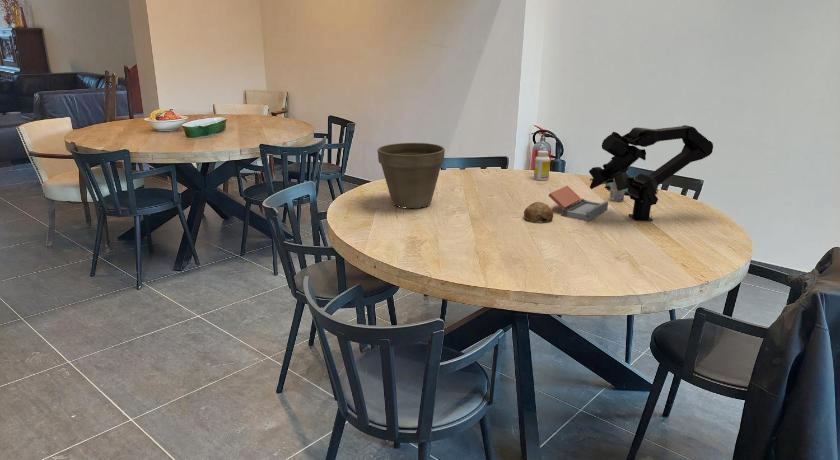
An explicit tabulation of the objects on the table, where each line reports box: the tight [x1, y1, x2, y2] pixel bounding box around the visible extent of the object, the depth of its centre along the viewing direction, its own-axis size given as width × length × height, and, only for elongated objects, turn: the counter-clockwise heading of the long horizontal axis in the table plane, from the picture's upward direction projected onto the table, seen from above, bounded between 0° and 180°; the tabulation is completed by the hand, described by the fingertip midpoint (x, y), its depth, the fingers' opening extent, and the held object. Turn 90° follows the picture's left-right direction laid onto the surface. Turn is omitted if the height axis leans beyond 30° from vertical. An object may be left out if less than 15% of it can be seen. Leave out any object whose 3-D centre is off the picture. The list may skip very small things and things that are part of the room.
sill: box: [561, 198, 587, 218], centre depth 207 cm, size 2×18×2 cm, turn 141°
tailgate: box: [548, 185, 582, 210], centre depth 208 cm, size 2×15×8 cm
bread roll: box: [523, 201, 554, 224], centre depth 196 cm, size 10×10×8 cm
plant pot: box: [376, 142, 446, 209], centre depth 210 cm, size 25×25×22 cm
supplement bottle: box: [533, 150, 551, 182], centre depth 252 cm, size 7×7×13 cm
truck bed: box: [567, 200, 609, 222], centre depth 203 cm, size 8×18×3 cm, turn 142°
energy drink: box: [608, 171, 628, 203], centre depth 219 cm, size 5×5×12 cm
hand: (590, 188), depth 201 cm, fingers closed
